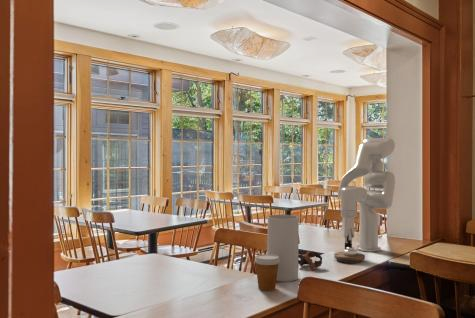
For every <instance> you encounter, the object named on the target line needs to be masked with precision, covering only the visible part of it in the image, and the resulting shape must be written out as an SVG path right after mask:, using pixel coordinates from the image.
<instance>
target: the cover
mask: <svg viewBox="0 0 475 318" xmlns="http://www.w3.org/2000/svg"><path fill="white" fill-rule="evenodd" d="M343 252H344V256H349V257H355V256H357V253H358V249H355V247H354V246H352V247H346V249H345V248H344V249H343Z"/></svg>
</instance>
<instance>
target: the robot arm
mask: <svg viewBox="0 0 475 318" xmlns="http://www.w3.org/2000/svg"><path fill="white" fill-rule="evenodd" d="M395 144H396V143H395V141H394V140H393V138H392V137H368V138H365V139H363V140H362V141H361V144H360V145H358V148H357V152H356V156H355V159H354V163H353V167H351V168H350V169H349V170H348V171H346V173H345V174H344V175H342V177H341V179H340V181H339V185H338V189H337V197H338V198H339V200H340V217H341V236H342V237H343V238H344V249H346V247H353V238H355V218H356V217H357V215H358V213H357V211H358V208H357V207H359V211H358V212H359V227H358V228H359V229H358V231H359V232H358V233H359V234H358V235H359V236H358V237H359V241H358V242H359V245H356V246H355V248H356V249H355V250H357V251H362V252H375V253H376V252H381V251H382V248H381V247H380V246H379V216H378V213H377V211H376V210H375V209H378V210H389V209H390V208H391V207H392V205H393V201H394V195H395V194H394V193H395V186H396V185H395V184H396V178H395V174H394V173H393V172H391V171H387V170H385V171H384V170H383V166H384V162H383V161H382V160H384V159H386V158H388V156H391V154H393V152H394V150H395V147H396V145H395ZM361 177H363V178H364V179H363V184H364V187H361V186H355V185H354V186H350V183H351V182H353V181H354V180H356V179H360V178H361ZM365 187H366V188H368V189H366V188H365Z"/></svg>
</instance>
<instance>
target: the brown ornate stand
mask: <svg viewBox="0 0 475 318" xmlns="http://www.w3.org/2000/svg"><path fill="white" fill-rule="evenodd" d="M313 256H315V258H318V259H319V260H314V262H313V259H312V257H313ZM299 259H300V260H299ZM322 264H323V257H322V255H321V254H320V253H318V252H316V251H311V250H310V251H309V250H308V251H307V252H306V253H305V254H301V253H300V254H299V253H298V266H300V267H303V266H305V265H308V266H310V267H309V270H311V271H314V269H317V268H319V267H321V266H322Z"/></svg>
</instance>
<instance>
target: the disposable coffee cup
mask: <svg viewBox="0 0 475 318" xmlns="http://www.w3.org/2000/svg"><path fill="white" fill-rule="evenodd" d="M253 260H254V262H255V269H256V270H255V271H256V277H257V278H256V279H257V286H258V290H260V291H264V292H271V291H275V290H276V285H277V281H276V279H277V272H278V264H279V261H280V260H279V257H278V256H277V255H272V254H267V253H262V254H257V255H255V258H254V259H253Z"/></svg>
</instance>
